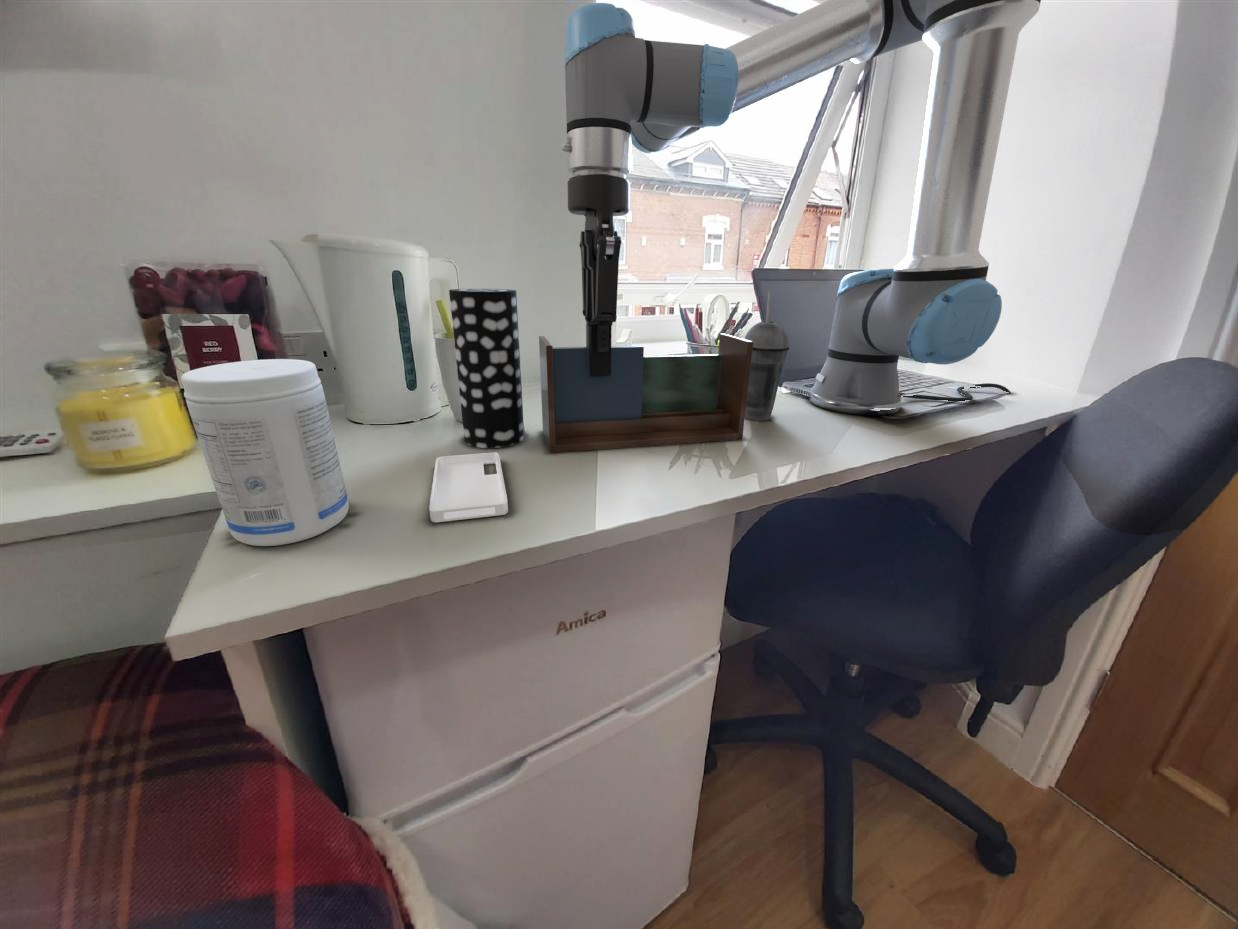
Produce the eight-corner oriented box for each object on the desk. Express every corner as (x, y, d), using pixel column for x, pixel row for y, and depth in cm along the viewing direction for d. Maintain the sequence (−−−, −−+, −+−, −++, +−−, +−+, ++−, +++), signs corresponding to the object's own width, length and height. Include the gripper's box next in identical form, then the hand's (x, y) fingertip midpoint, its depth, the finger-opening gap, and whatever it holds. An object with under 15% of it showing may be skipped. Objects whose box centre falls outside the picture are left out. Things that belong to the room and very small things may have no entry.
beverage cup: (738, 422, 80) (753, 291, 73) (730, 410, 87) (743, 289, 79) (784, 423, 80) (803, 292, 73) (772, 411, 87) (789, 290, 79)
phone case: (437, 466, 60) (430, 524, 47) (436, 456, 60) (428, 511, 47) (499, 461, 62) (509, 515, 49) (498, 451, 62) (508, 502, 48)
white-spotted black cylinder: (510, 450, 66) (499, 292, 59) (453, 445, 68) (436, 290, 60) (532, 432, 74) (525, 289, 66) (480, 427, 75) (468, 288, 68)
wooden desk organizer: (716, 422, 80) (724, 333, 75) (742, 439, 72) (753, 341, 67) (542, 432, 74) (538, 336, 68) (550, 453, 66) (546, 345, 60)
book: (637, 426, 73) (641, 322, 68) (641, 430, 71) (645, 324, 66) (554, 431, 70) (550, 323, 65) (556, 435, 69) (552, 325, 63)
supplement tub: (322, 493, 53) (291, 354, 47) (370, 519, 48) (340, 366, 42) (213, 529, 46) (160, 369, 40) (255, 563, 40) (201, 385, 35)
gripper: (559, 184, 65) (563, 364, 74) (578, 163, 52) (581, 386, 60) (614, 187, 67) (612, 363, 76) (647, 168, 53) (640, 384, 62)
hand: (598, 373), depth 68 cm, fingers closed on book, 2 cm apart
